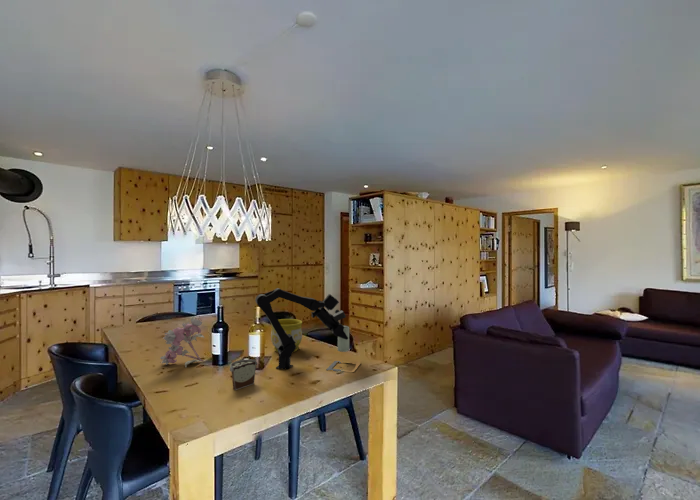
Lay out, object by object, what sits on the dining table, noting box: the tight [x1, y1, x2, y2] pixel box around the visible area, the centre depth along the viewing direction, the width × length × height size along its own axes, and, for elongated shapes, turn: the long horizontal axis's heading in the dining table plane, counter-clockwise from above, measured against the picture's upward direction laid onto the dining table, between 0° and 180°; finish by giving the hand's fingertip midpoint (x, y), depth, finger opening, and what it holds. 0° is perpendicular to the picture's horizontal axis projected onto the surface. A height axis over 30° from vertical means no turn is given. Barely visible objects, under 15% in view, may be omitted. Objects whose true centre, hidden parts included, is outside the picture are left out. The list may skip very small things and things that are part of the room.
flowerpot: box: [270, 318, 303, 353], centre depth 206 cm, size 18×18×16 cm
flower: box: [159, 315, 205, 368], centre depth 180 cm, size 20×22×25 cm
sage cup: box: [337, 325, 350, 353], centre depth 185 cm, size 6×6×12 cm
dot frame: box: [325, 360, 342, 372], centre depth 177 cm, size 14×14×1 cm
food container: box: [229, 358, 258, 391], centre depth 152 cm, size 12×6×10 cm, turn 141°
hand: (346, 337), depth 185 cm, fingers closed on sage cup, 6 cm apart
